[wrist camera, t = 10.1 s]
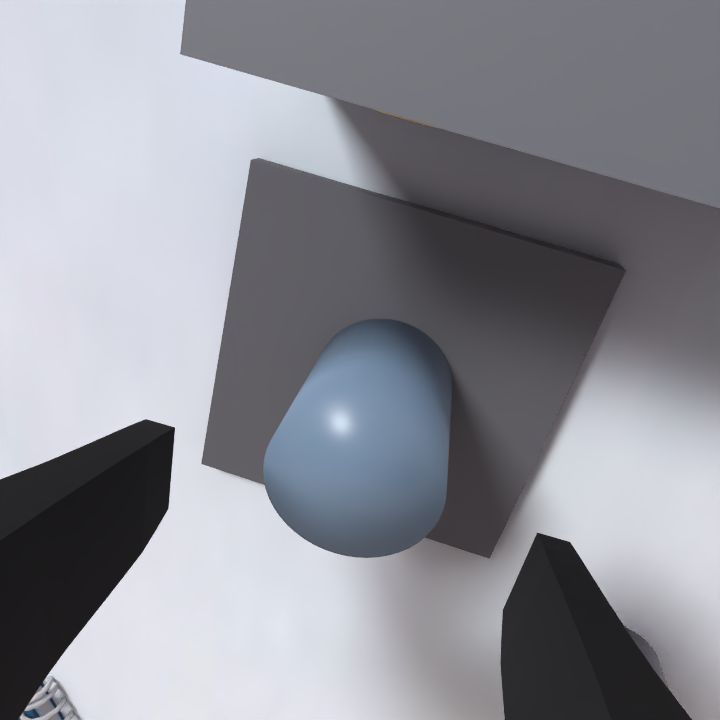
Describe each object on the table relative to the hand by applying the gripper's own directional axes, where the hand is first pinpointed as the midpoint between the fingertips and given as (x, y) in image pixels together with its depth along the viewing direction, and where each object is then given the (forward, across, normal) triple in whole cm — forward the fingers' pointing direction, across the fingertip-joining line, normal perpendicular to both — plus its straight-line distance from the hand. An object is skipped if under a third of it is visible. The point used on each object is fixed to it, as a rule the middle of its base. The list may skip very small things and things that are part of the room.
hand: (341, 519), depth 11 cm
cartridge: (+6, 0, 0) cm, 6 cm away
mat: (+7, 0, 0) cm, 7 cm away
